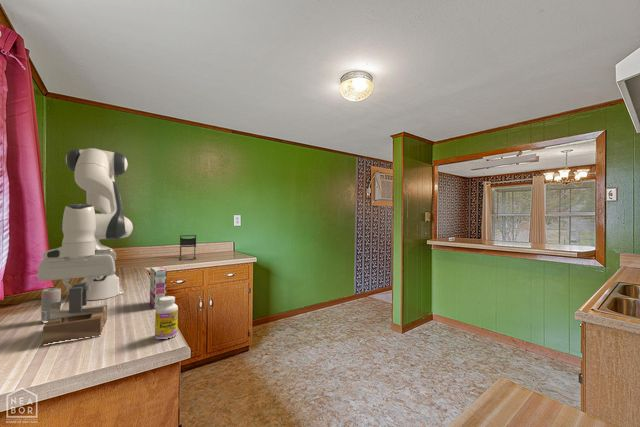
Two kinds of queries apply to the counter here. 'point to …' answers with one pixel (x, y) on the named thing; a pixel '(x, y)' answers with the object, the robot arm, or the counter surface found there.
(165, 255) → the counter surface
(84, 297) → the gray block
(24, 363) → the counter surface
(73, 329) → the shelf
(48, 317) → the energy drink
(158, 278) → the candy bar box
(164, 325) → the supplement bottle
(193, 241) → the chair
